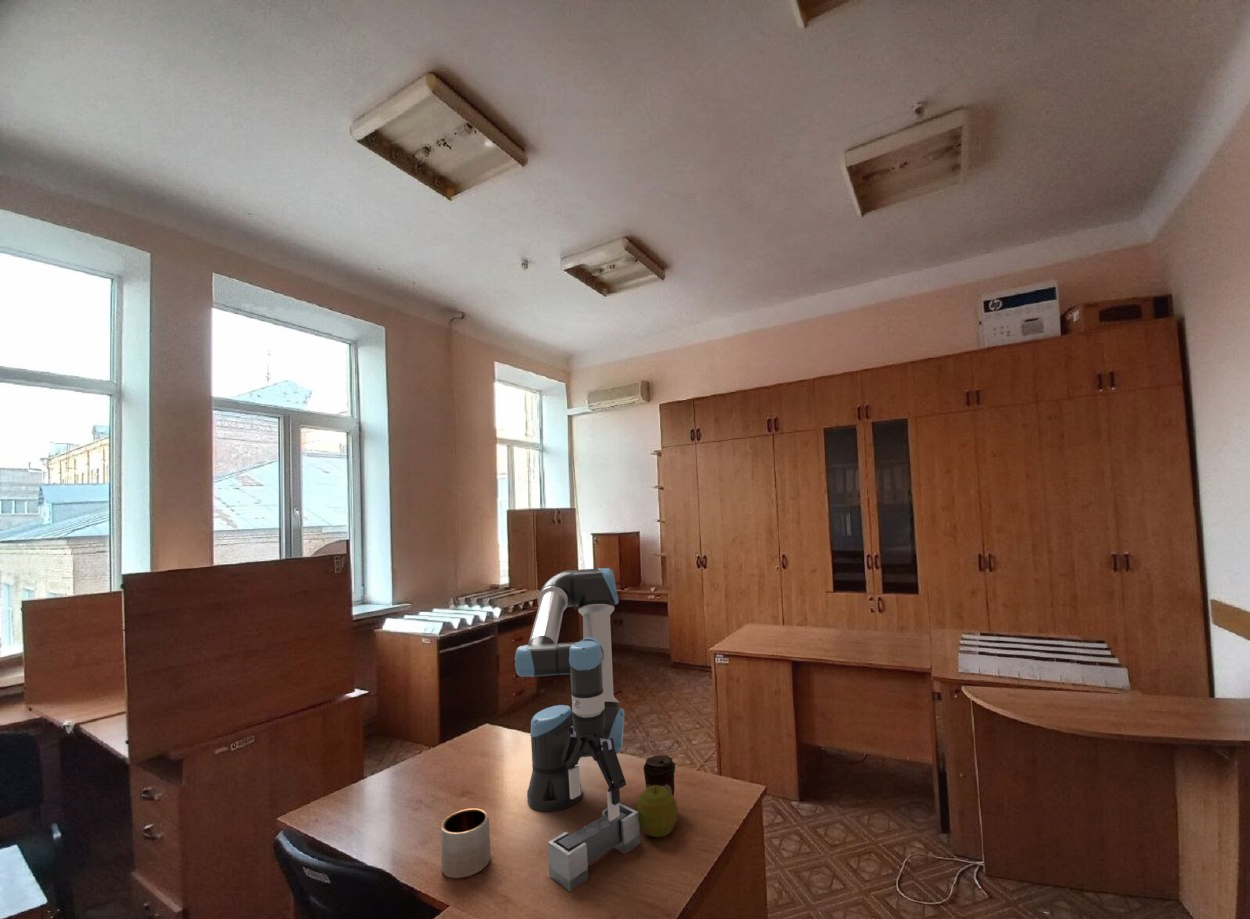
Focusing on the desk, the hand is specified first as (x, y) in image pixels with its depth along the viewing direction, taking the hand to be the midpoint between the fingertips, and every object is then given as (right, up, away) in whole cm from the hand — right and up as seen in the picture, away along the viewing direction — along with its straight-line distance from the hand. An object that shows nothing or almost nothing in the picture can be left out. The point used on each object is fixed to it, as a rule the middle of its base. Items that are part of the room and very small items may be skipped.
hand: (593, 807), depth 122 cm
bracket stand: (+1, -11, -2) cm, 11 cm away
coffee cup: (+17, -12, +15) cm, 26 cm away
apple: (+15, -11, +7) cm, 20 cm away
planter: (-29, -13, -1) cm, 32 cm away
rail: (0, -9, -2) cm, 9 cm away
